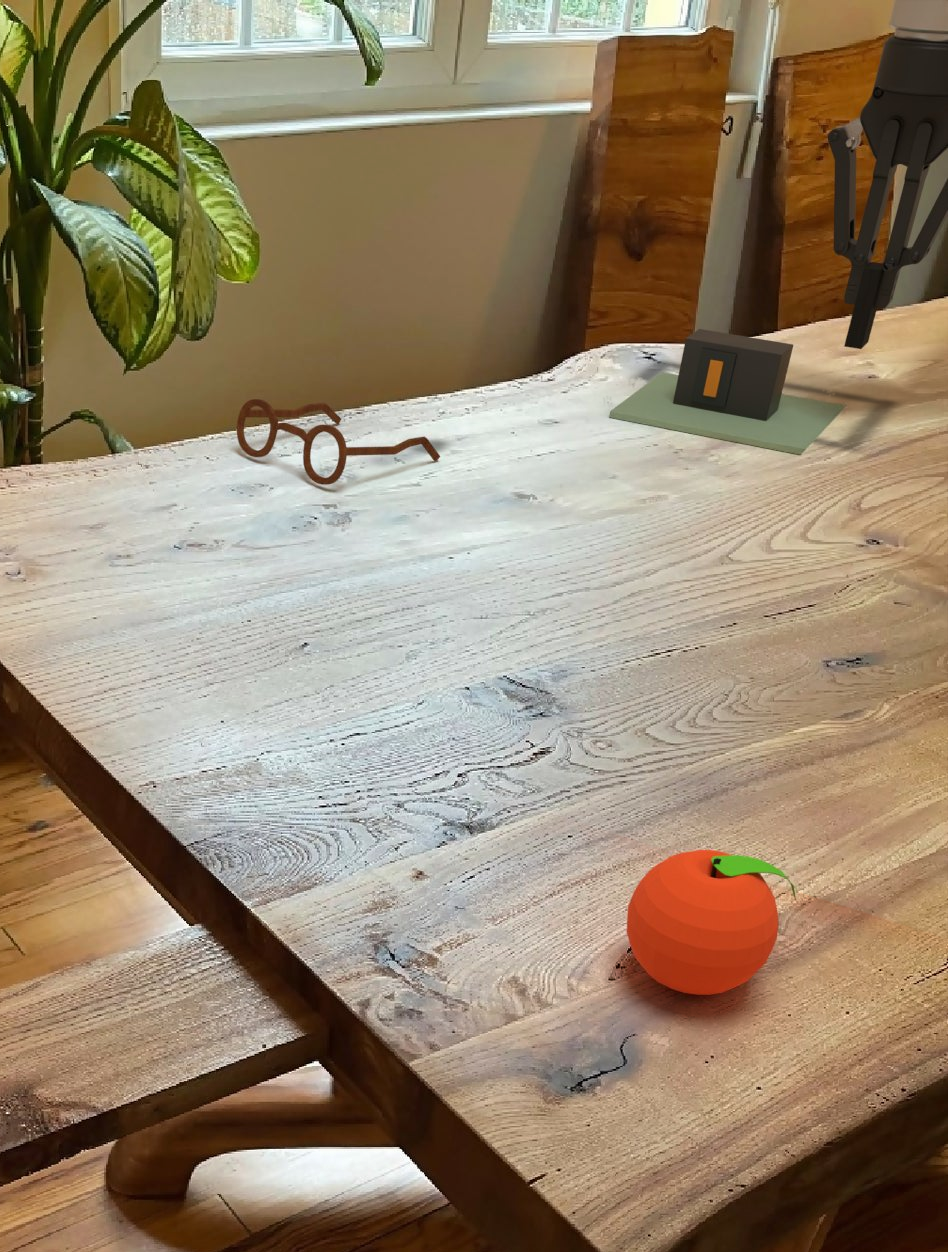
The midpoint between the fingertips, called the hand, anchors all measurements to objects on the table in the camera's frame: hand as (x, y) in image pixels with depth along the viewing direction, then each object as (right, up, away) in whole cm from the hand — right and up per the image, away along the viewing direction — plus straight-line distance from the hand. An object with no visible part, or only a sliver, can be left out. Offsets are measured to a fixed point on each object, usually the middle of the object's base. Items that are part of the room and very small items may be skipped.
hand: (856, 344), depth 132 cm
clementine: (-33, -56, -59) cm, 89 cm away
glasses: (-47, -11, -2) cm, 48 cm away
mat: (-7, -4, +8) cm, 11 cm away
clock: (-5, -1, +5) cm, 7 cm away
